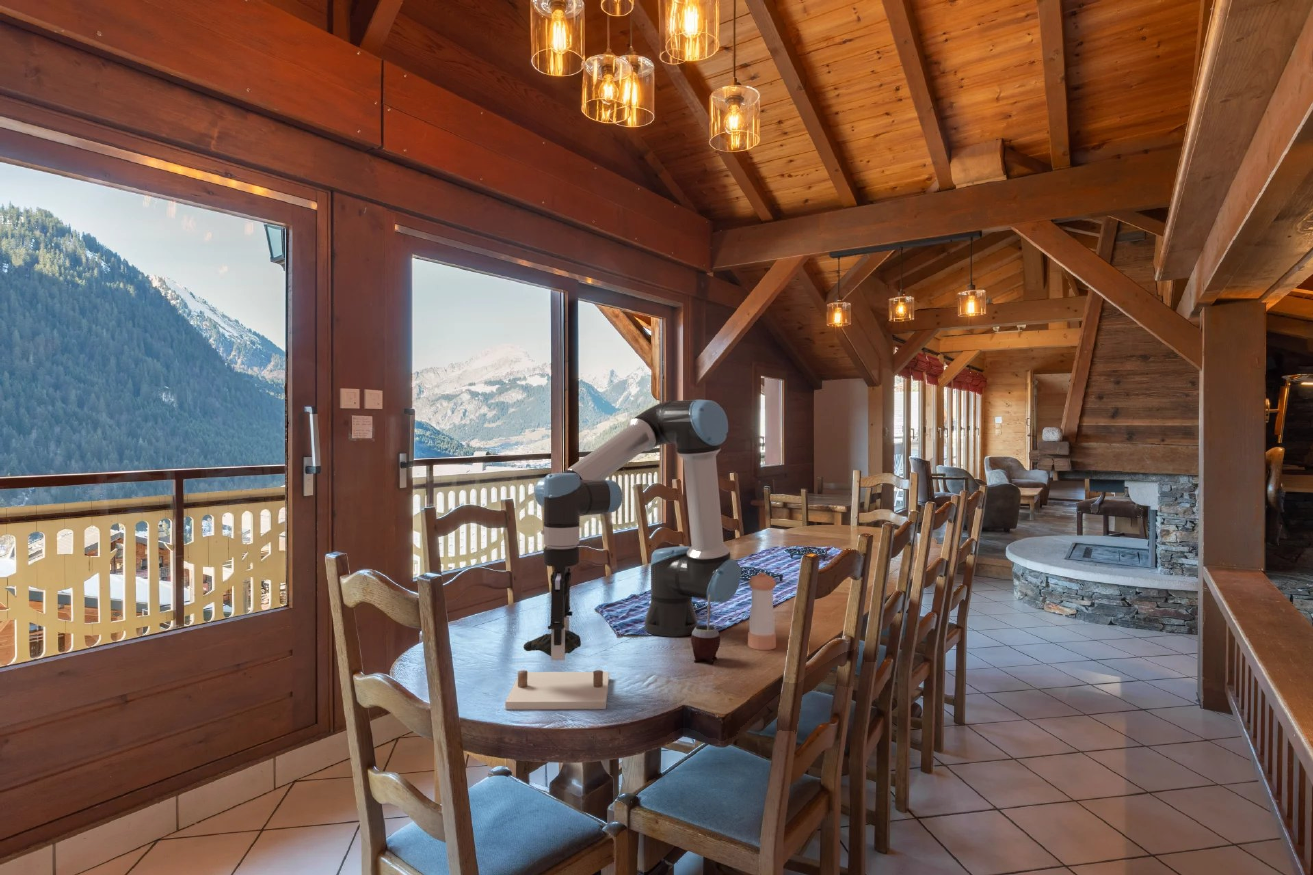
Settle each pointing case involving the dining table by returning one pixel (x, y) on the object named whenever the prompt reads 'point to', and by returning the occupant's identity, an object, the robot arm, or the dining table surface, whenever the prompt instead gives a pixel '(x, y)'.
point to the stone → (545, 643)
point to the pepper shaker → (762, 613)
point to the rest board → (559, 690)
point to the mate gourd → (705, 640)
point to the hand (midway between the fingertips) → (560, 652)
